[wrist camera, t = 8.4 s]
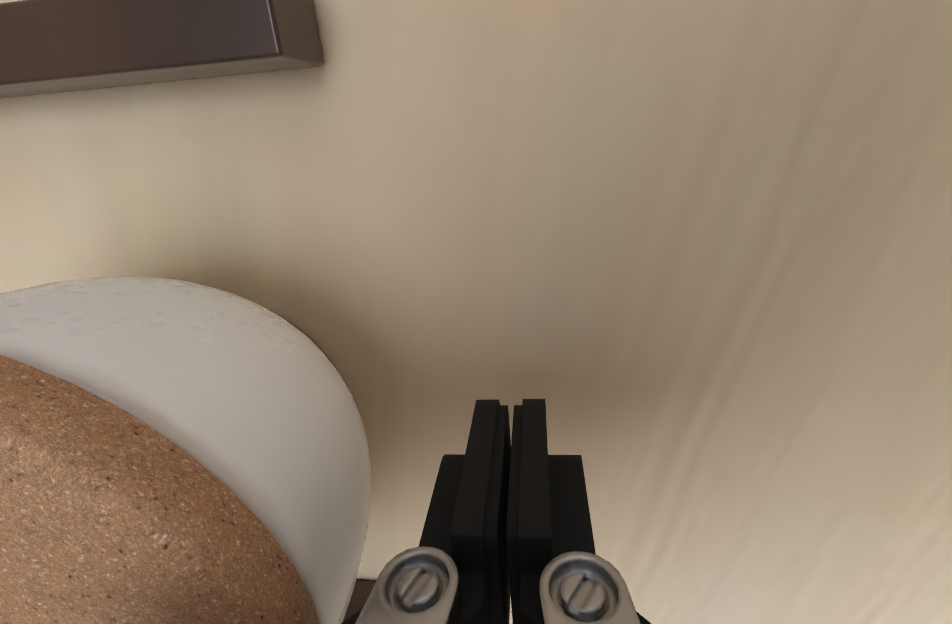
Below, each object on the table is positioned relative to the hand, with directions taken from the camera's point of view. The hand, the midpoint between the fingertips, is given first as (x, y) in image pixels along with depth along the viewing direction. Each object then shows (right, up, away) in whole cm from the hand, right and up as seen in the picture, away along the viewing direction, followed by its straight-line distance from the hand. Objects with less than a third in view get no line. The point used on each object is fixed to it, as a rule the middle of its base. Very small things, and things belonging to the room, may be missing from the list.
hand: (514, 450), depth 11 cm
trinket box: (-8, +1, +3) cm, 9 cm away
